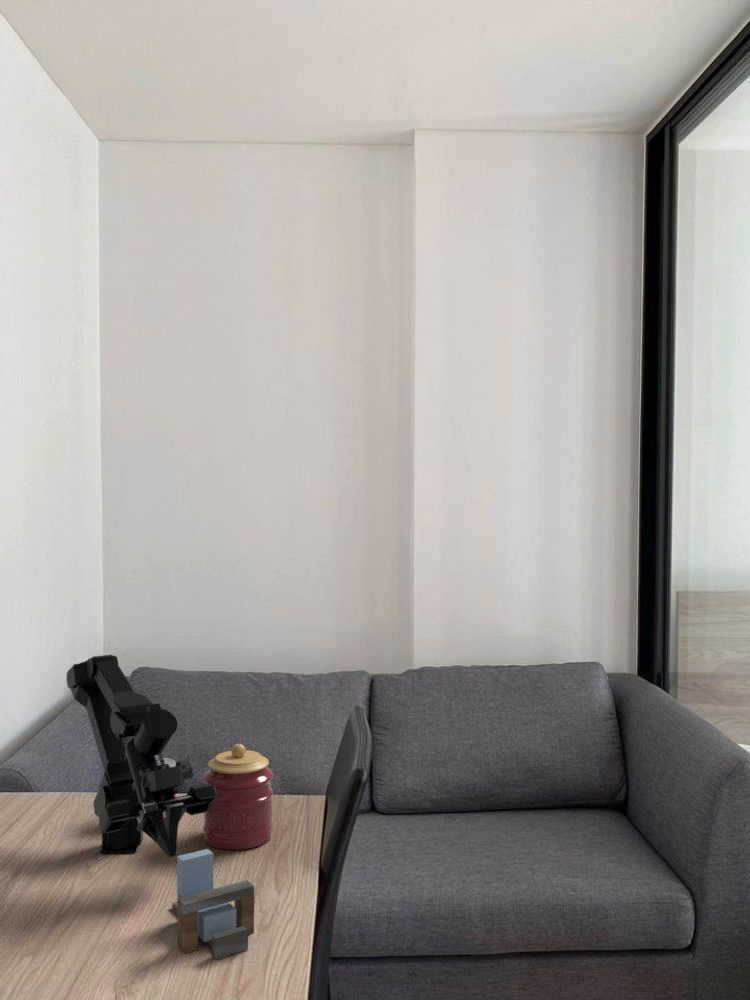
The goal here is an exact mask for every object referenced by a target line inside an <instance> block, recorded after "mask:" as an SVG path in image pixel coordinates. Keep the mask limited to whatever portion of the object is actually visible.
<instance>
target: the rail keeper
mask: <svg viewBox="0 0 750 1000" xmlns="http://www.w3.org/2000/svg"><path fill="white" fill-rule="evenodd" d="M228 902H229V903H231V902H234V907H235V908H236V928H234V929H231V930H228V931H224V932H221V933H218V934H214V935H212V940H210V941H207V942H206V943H207V945H209V946H210V947H211V956H212V958H213V959H214V960H219V959H223V958H226V957H229V956H228V955H230V956H232V955H231V954H233V955H235V953H236V954H239V953H242V952H245V951H244V950H246V951H248V950H249V935H251V934H254V933H255V885H254V884H252V882H250V881H249V880H247V879H246V880H242V881H239V882H234V883H231V884H227V885H223V886H219V887H216V888H213V889H211V890H207V891H204V892H200V893H196V894H192V895H189V896H185V897H181V898H178V915H177V948H178V949H179V950H180V951H181V952H182V953H183V954H184V953H185V954H188V953H191V952H195V951H197V950H198V935H197V911H199V910H203V909H206V908H210V907H214V906H217V905H221V904H224V903H228ZM171 905H172V907H171V908H172V909H173V910H174V911H175V912H176V913H177V901H174V902H172V904H171ZM247 949H248V950H247ZM241 951H242V952H241ZM238 952H239V953H238Z"/></svg>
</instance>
